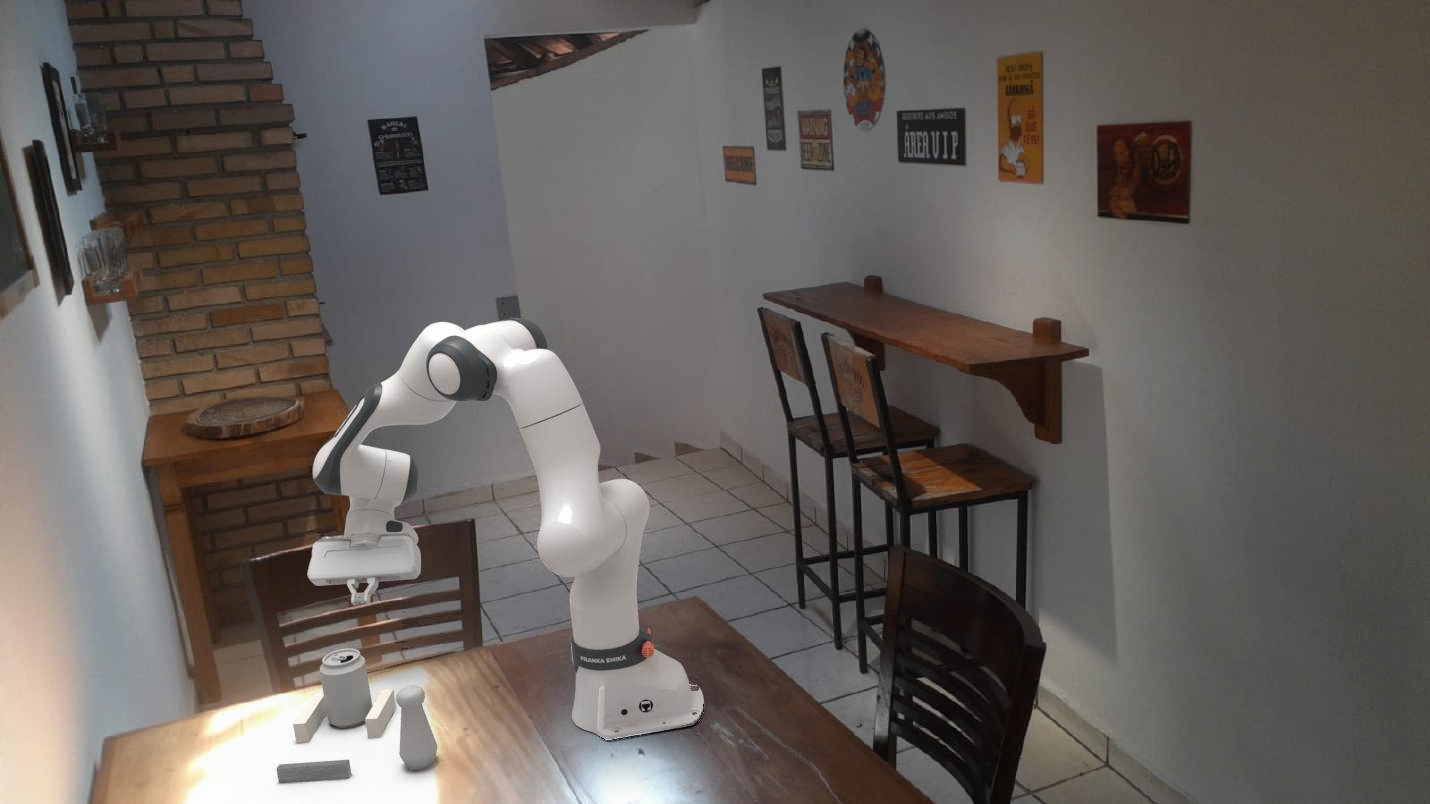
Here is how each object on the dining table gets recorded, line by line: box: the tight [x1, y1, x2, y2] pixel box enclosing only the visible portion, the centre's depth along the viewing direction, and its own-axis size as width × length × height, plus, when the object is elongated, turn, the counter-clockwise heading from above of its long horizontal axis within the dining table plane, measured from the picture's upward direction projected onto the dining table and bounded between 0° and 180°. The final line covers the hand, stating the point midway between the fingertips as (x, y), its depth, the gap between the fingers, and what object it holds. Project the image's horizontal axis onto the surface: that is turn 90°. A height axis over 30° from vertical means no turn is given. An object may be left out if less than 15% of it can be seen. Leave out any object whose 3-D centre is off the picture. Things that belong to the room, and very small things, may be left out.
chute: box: [292, 688, 397, 744], centre depth 185 cm, size 14×10×4 cm
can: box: [319, 647, 373, 729], centre depth 186 cm, size 8×8×12 cm
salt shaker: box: [395, 684, 438, 771], centre depth 170 cm, size 6×6×13 cm
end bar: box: [276, 759, 352, 784], centre depth 169 cm, size 11×1×2 cm, turn 91°
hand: (360, 603), depth 196 cm, fingers closed
